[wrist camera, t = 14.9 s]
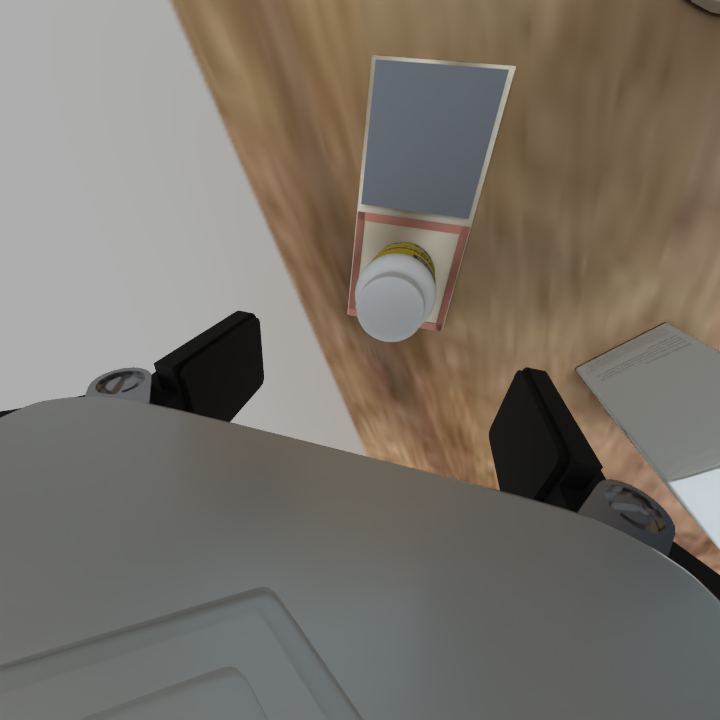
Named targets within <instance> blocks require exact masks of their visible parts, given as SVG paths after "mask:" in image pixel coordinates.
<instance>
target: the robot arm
mask: <svg viewBox="0 0 720 720" xmlns="http://www.w3.org/2000/svg"><path fill="white" fill-rule="evenodd" d="M691 1H692V2H693V3H695V4H697V5H698V6H700V7H702V8H704V9H706V10H708V11H710V12H712V13H717V14H720V0H691ZM154 366H155V369H156V372H155V373H153V374H152V375H151V373H150V372H149V371H147V370H145V369H142V368H123V369H118V370H114V371H111V372H108V373H105V374H103V375H101V376H99V377H98V378H96V379H95V380H94V381H93V382H91V384H90V385H89V387H88V389H87V392H86V395H83V396H78V397H70V398H61V399H54V400H48V401H42V402H38V403H35V404H32V405H29V406H26V407H24V408H19V409H14V410H8V411H1V412H0V720H720V575H719V574H718V573H716V572H715V571H713V570H712V569H711V568H709V567H708V566H707V565H705V564H704V563H702V562H701V561H700V560H698V559H697V558H695V557H694V556H693V555H691V554H690V553H689V552H687V551H686V550H684V549H683V548H682V547H680V546H679V545H678V544H676V543H675V542H673V539H674V536H675V526H674V524H673V521H672V519H671V517H670V516H669V515H668V514H667V512H666V511H665V510H664V509H663V508H662V507H661V506H660V505H659V504H658V503H657V502H656V501H655V500H654V499H652V498H651V497H650V496H648V495H647V494H645V493H644V492H643V491H641V490H639V489H637V488H635V487H633V486H632V485H629V484H627V483H624V482H621V481H617V480H612V479H608V480H606V478H605V477H604V475H603V473H602V472H601V469H602V468H603V467H602V465H601V463H600V462H599V460H598V458H597V457H596V455H595V453H594V452H593V450H592V448H591V447H590V445H589V443H588V441H587V440H586V438H585V436H584V435H583V433H582V431H581V430H580V428H579V426H578V425H577V423H576V421H575V420H574V418H573V416H572V415H571V413H570V411H569V409H568V408H567V406H566V404H565V403H564V401H563V399H562V398H561V396H560V394H559V393H558V391H557V389H556V388H555V386H554V384H553V383H552V381H551V379H550V378H549V376H548V374H547V373H546V372H545V371H542V370H537V369H532V368H527V367H526V368H524V370H523V371H520V370H519V371H517V373H516V374H515V376H514V379H513V381H512V383H511V385H510V387H509V389H508V391H507V394H506V396H505V398H504V400H503V402H502V404H501V406H500V409H499V411H498V413H497V415H496V417H495V419H494V422H493V424H492V426H491V428H490V431H489V440H490V445H491V450H492V454H493V459H494V464H495V469H496V473H497V478H498V483H499V488H500V490H496V489H492V488H488V487H484V486H481V485H477V484H473V483H469V482H465V481H461V480H457V479H453V478H449V477H445V476H442V475H438V474H434V473H430V472H426V471H422V470H418V469H414V468H410V467H406V466H402V465H398V464H394V463H390V462H386V461H382V460H378V459H374V458H370V457H366V456H362V455H358V454H354V453H350V452H346V451H342V450H338V449H334V448H330V447H326V446H322V445H318V444H314V443H311V442H307V441H302V440H298V439H294V438H291V437H287V436H282V435H279V434H275V433H271V432H266V431H263V430H259V429H255V428H251V427H247V426H242V425H239V424H235V423H230V421H231V420H232V419H233V418H234V417H235V415H236V414H237V413H238V412H239V411H240V410H241V408H242V407H243V406H244V405H245V404H246V403H247V402H248V401H249V399H250V398H251V397H252V396H253V395H254V394H255V392H256V391H257V390H258V389H259V388H260V387H261V385H262V384H263V380H264V370H263V358H262V346H261V332H260V321H259V319H258V318H256V316H255V315H254V314H252V313H247V312H243V311H237V312H235V313H233V314H232V315H230V316H228V317H227V318H225V319H224V320H222V321H221V322H219V323H217V324H216V325H214V326H213V327H211V328H210V329H208V330H206V331H205V332H203V333H201V334H200V335H198V336H197V337H195V338H194V339H192V340H190V341H189V342H187V343H185V344H184V345H182V346H181V347H179V348H178V349H176V350H174V351H173V352H171V353H170V354H168V355H166V356H165V357H163V358H162V359H160V360H158V361H157V362H155V363H154Z"/></svg>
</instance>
